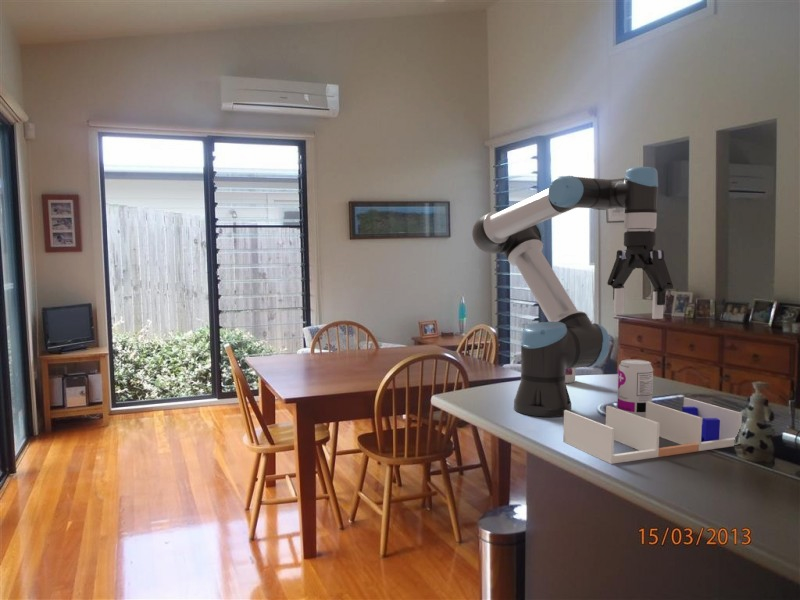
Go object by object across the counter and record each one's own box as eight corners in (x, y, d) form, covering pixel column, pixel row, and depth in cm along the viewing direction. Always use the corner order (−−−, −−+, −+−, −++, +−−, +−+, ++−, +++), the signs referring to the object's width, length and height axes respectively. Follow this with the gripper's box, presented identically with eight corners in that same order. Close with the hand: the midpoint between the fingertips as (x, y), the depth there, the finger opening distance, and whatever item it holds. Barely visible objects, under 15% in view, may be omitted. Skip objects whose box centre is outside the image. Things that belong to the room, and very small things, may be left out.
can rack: (610, 463, 129) (611, 428, 128) (563, 441, 144) (564, 410, 143) (740, 444, 141) (742, 413, 141) (684, 426, 156) (685, 397, 156)
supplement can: (617, 423, 159) (619, 363, 158) (616, 415, 167) (618, 358, 166) (652, 425, 157) (654, 365, 156) (649, 417, 165) (651, 359, 164)
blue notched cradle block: (674, 431, 153) (675, 406, 152) (693, 431, 153) (694, 406, 152) (698, 446, 141) (699, 419, 140) (718, 446, 141) (720, 420, 140)
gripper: (691, 229, 148) (688, 320, 150) (617, 232, 171) (615, 310, 173) (666, 229, 145) (663, 321, 147) (595, 231, 169) (593, 311, 170)
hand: (637, 316), depth 160 cm, fingers open, 13 cm apart
